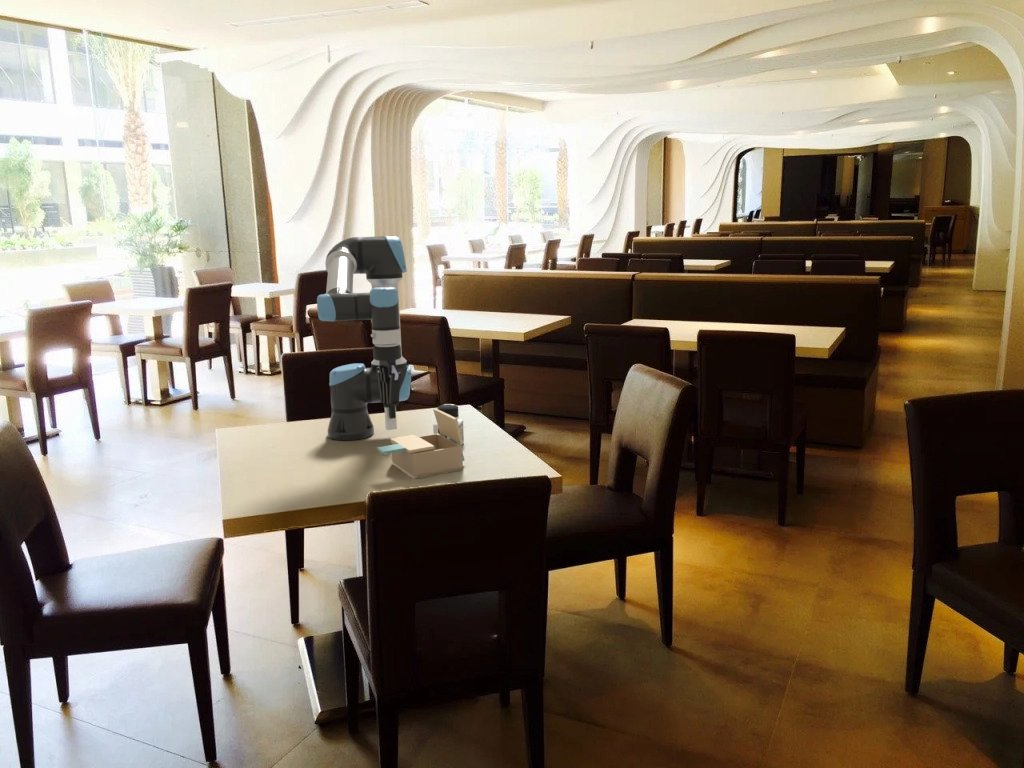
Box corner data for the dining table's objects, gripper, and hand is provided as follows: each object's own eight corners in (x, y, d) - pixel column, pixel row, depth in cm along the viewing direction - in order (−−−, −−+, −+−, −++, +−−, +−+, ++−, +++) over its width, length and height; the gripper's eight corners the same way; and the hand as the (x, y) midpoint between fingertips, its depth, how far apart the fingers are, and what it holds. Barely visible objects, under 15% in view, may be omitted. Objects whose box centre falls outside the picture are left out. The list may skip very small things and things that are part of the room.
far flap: (433, 409, 243) (435, 408, 243) (445, 451, 247) (447, 450, 247) (454, 419, 230) (456, 418, 231) (466, 463, 235) (468, 462, 235)
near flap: (368, 444, 234) (368, 441, 234) (414, 437, 241) (414, 434, 241) (386, 456, 222) (386, 454, 222) (434, 448, 229) (434, 445, 229)
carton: (392, 463, 240) (390, 440, 239) (438, 455, 247) (437, 433, 246) (414, 479, 226) (412, 454, 225) (462, 469, 233) (462, 446, 232)
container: (457, 449, 253) (456, 408, 251) (433, 448, 255) (432, 408, 252) (464, 442, 261) (462, 402, 258) (440, 441, 262) (439, 402, 260)
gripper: (365, 343, 226) (370, 426, 230) (382, 348, 215) (386, 436, 219) (391, 340, 229) (395, 422, 234) (408, 346, 218) (413, 432, 223)
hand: (391, 428), depth 227 cm, fingers closed
